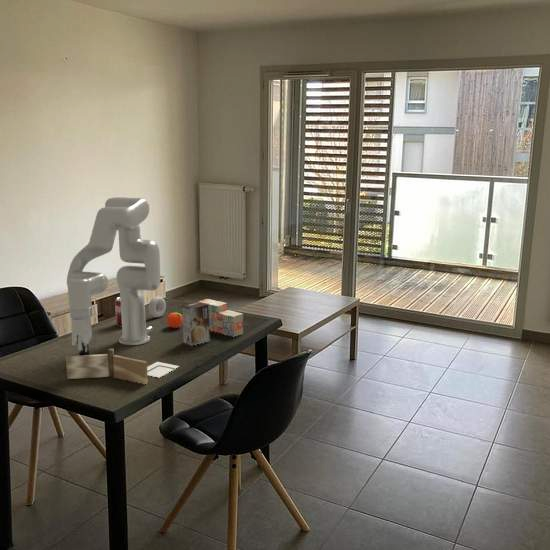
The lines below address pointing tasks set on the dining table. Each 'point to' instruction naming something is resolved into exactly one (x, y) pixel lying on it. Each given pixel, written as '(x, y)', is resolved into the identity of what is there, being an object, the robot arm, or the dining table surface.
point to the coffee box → (195, 323)
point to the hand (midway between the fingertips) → (85, 361)
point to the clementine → (174, 320)
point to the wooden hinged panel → (127, 368)
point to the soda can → (118, 312)
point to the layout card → (160, 369)
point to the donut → (152, 307)
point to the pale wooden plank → (87, 366)
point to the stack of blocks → (224, 318)
